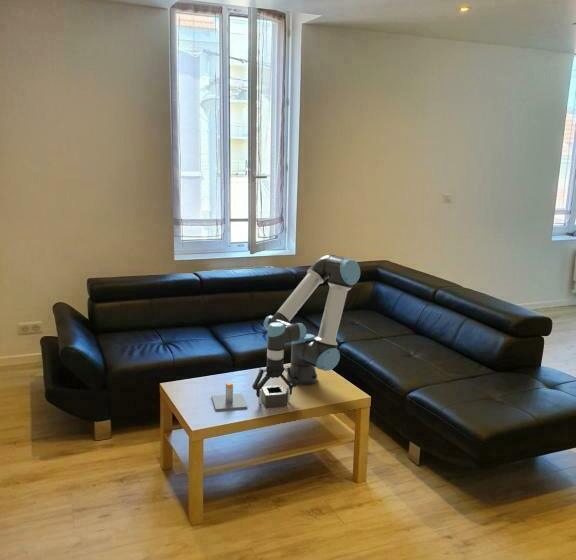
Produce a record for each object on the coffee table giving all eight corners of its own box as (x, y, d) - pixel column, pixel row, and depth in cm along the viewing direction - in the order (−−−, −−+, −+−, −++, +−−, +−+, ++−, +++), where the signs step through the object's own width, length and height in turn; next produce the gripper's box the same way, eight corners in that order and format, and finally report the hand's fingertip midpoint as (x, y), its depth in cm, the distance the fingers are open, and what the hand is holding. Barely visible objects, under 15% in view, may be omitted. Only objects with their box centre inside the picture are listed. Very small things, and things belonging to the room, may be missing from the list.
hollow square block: (282, 397, 268) (282, 384, 266) (287, 406, 258) (287, 393, 257) (260, 398, 265) (261, 386, 264) (265, 408, 256) (265, 395, 254)
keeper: (241, 395, 268) (242, 377, 266) (247, 408, 255) (247, 389, 253) (211, 397, 264) (211, 379, 262) (215, 411, 251) (215, 391, 249)
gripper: (299, 353, 264) (297, 396, 268) (246, 355, 257) (245, 400, 262) (304, 358, 256) (302, 403, 261) (249, 361, 250) (248, 407, 255)
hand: (273, 402), depth 262 cm, fingers open, 12 cm apart
